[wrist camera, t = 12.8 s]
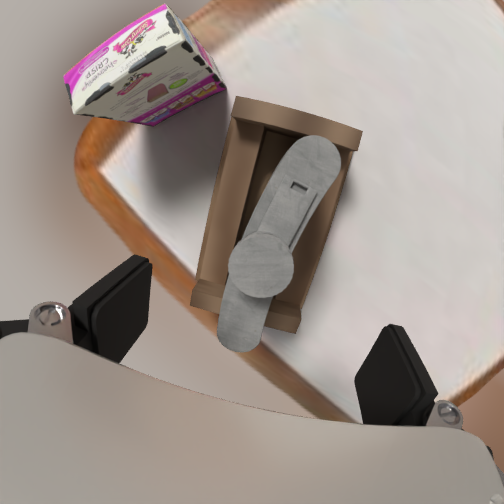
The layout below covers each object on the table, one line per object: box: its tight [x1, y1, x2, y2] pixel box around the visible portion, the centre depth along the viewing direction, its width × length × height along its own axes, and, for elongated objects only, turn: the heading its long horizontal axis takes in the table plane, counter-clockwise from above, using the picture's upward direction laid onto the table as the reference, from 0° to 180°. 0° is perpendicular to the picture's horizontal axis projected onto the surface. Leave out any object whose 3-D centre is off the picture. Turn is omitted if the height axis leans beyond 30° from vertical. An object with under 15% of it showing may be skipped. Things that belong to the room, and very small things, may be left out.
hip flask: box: [217, 135, 341, 352], centre depth 25 cm, size 16×4×20 cm, turn 159°
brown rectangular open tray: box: [190, 96, 363, 334], centre depth 31 cm, size 15×24×9 cm, turn 166°
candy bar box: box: [63, 3, 227, 127], centre depth 24 cm, size 11×5×16 cm, turn 113°
